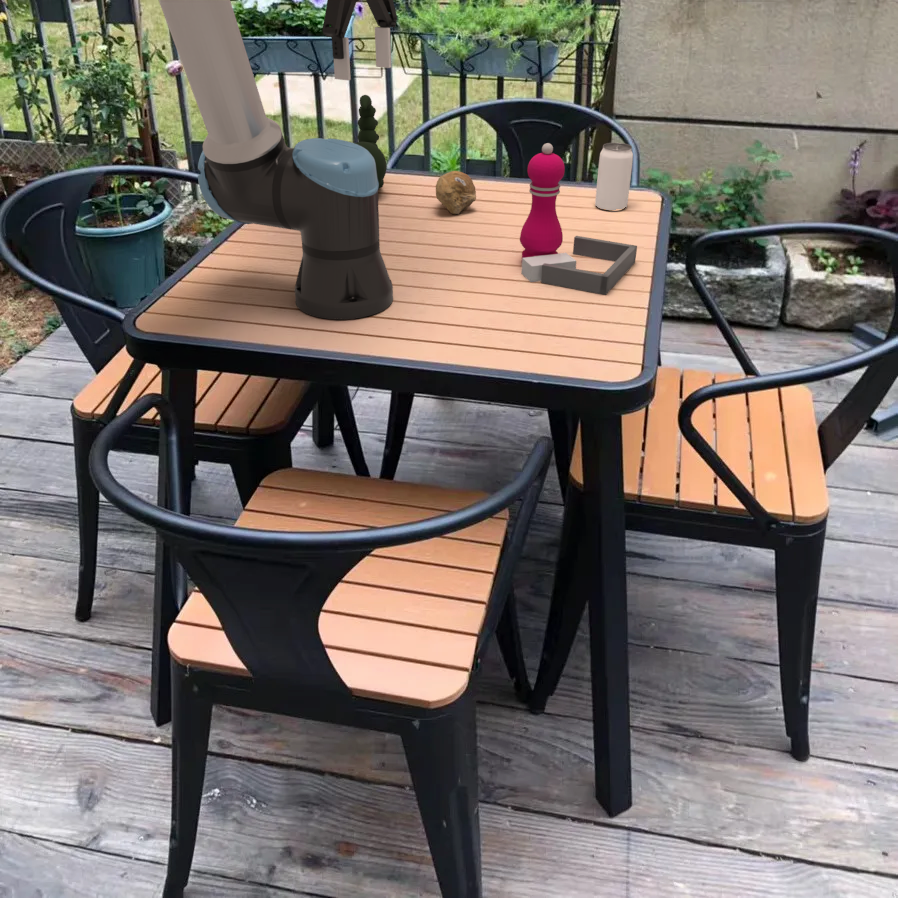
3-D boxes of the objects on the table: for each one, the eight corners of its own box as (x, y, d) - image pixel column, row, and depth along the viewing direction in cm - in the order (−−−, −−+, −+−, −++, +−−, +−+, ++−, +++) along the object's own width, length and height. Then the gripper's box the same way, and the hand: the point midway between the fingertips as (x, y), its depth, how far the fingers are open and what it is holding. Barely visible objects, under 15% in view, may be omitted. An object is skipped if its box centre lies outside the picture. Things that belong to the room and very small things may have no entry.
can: (592, 210, 174) (598, 148, 167) (597, 200, 179) (603, 141, 172) (624, 213, 172) (632, 151, 165) (628, 203, 177) (636, 143, 171)
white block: (530, 283, 142) (531, 266, 140) (521, 275, 145) (522, 257, 143) (574, 278, 144) (576, 260, 142) (564, 269, 147) (566, 252, 146)
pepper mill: (558, 272, 145) (568, 150, 134) (516, 268, 147) (522, 147, 136) (562, 257, 151) (572, 139, 140) (521, 254, 152) (528, 136, 142)
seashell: (432, 197, 180) (431, 158, 176) (470, 197, 181) (471, 157, 176) (436, 218, 169) (436, 177, 164) (478, 218, 169) (479, 176, 165)
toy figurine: (349, 182, 195) (338, 206, 173) (344, 92, 186) (332, 105, 164) (391, 182, 195) (385, 206, 173) (388, 92, 186) (382, 105, 164)
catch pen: (605, 294, 137) (607, 277, 136) (541, 282, 141) (542, 265, 140) (635, 262, 149) (637, 245, 148) (574, 252, 153) (576, 235, 152)
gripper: (377, -71, 151) (381, 60, 163) (293, -66, 133) (305, 82, 144) (414, -70, 148) (416, 64, 160) (334, -64, 130) (343, 87, 141)
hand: (363, 73), depth 152 cm, fingers open, 13 cm apart
